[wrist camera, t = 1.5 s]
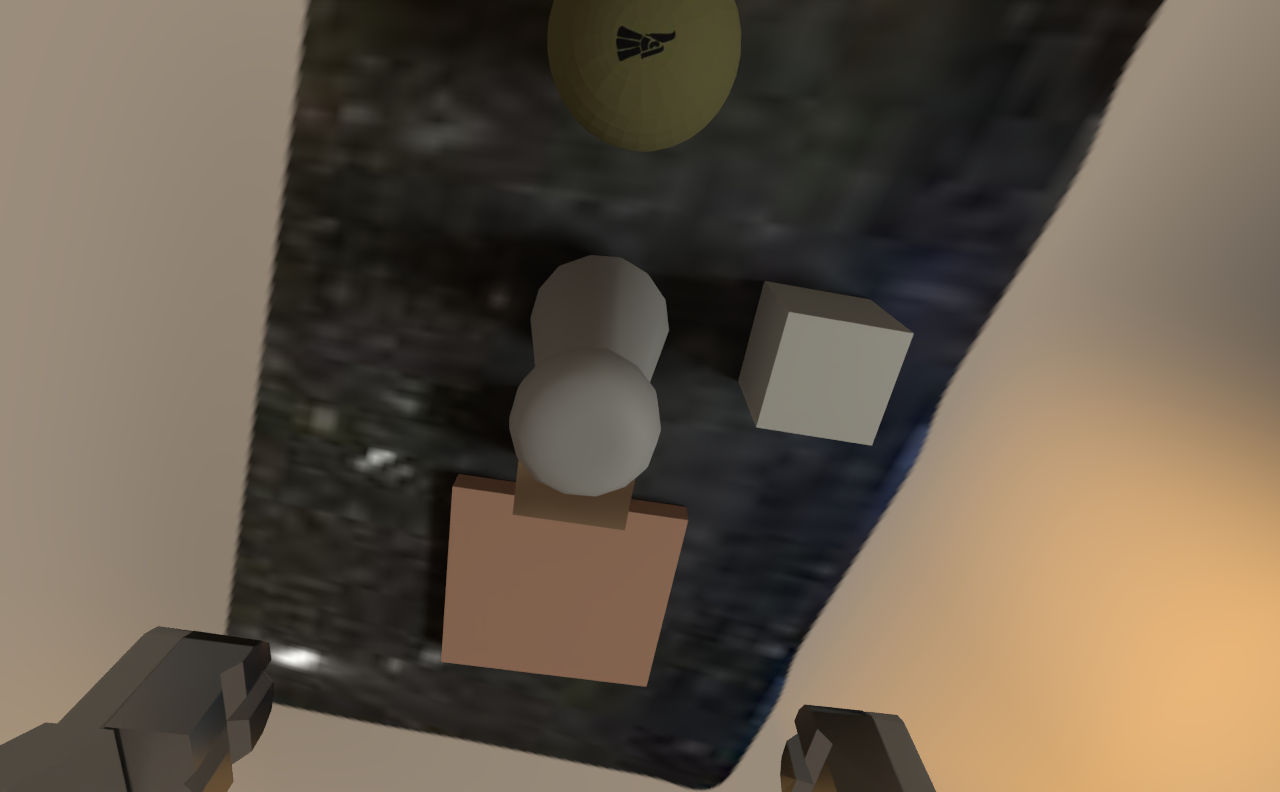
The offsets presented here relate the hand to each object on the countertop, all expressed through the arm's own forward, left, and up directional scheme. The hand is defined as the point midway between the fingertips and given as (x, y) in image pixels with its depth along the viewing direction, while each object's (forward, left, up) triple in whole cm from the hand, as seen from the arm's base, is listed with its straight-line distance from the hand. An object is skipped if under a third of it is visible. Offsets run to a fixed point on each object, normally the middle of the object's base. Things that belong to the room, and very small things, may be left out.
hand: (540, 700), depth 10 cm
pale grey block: (0, +10, -21) cm, 23 cm away
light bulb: (-10, 0, -21) cm, 23 cm away
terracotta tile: (+16, 0, -21) cm, 26 cm away
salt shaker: (0, 0, -21) cm, 21 cm away
